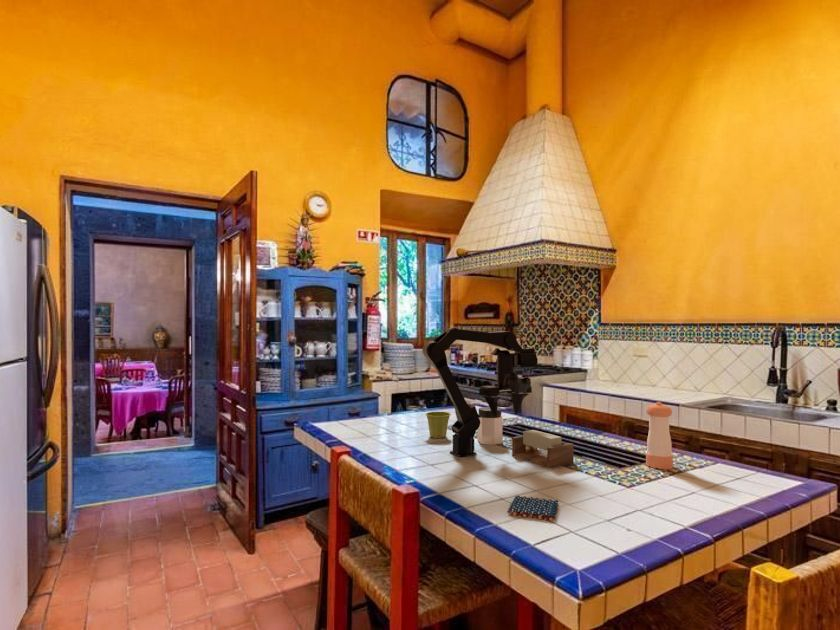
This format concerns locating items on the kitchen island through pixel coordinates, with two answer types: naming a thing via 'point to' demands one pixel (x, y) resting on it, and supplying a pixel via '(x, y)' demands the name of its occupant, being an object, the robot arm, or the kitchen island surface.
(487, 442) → the jar
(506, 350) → the robot arm
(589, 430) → the kitchen island surface
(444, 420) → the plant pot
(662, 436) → the pepper shaker
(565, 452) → the shelf frame
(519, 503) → the woven mat
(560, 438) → the beige rectangular block
